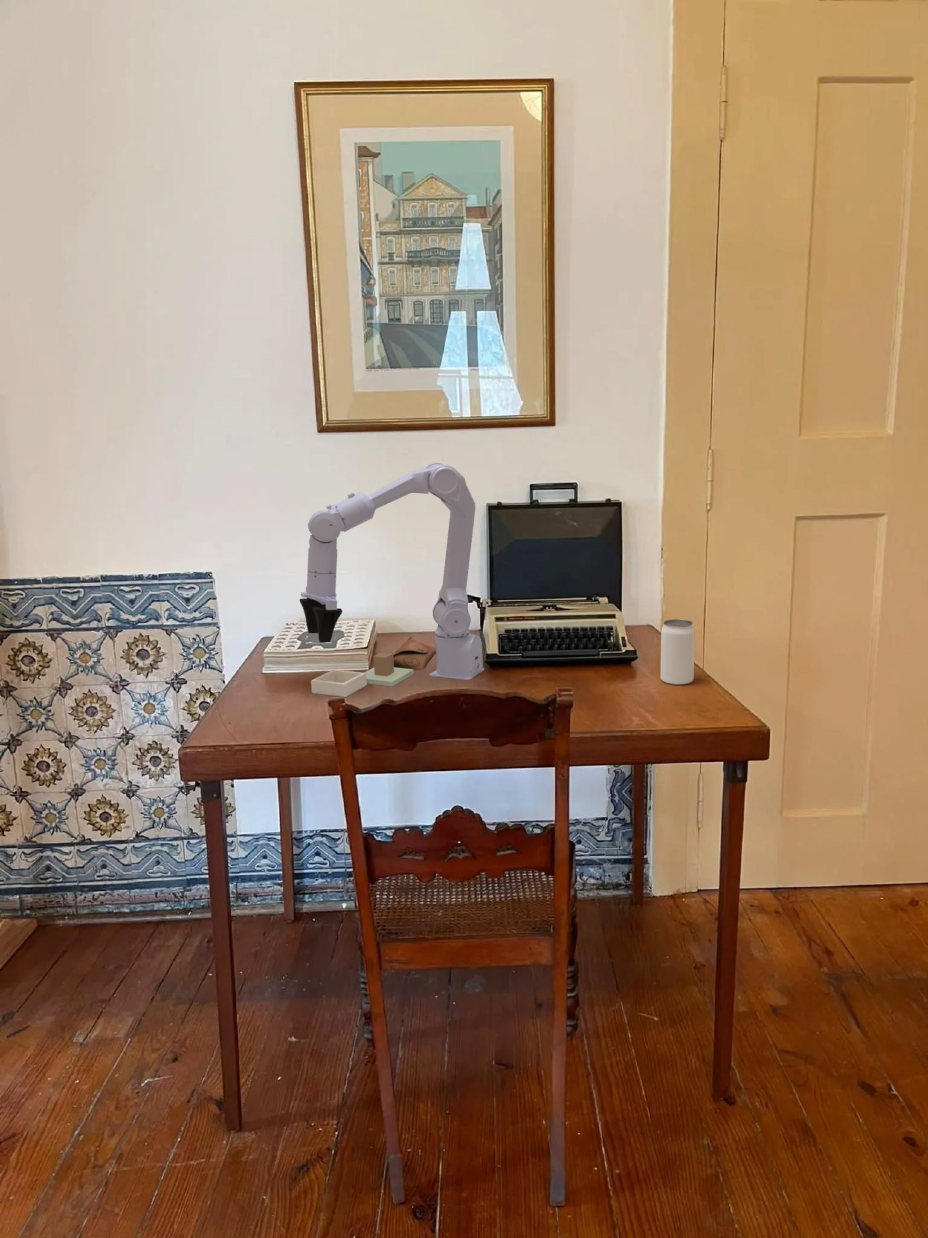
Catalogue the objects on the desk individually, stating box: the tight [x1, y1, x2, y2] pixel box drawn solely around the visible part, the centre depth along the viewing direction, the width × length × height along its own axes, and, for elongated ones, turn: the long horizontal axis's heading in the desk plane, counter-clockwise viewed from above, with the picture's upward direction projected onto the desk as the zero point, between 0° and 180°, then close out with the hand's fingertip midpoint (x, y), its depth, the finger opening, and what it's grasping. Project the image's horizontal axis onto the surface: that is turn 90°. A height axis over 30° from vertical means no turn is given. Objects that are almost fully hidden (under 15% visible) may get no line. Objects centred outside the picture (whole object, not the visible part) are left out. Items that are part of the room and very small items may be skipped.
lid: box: [363, 652, 415, 687], centre depth 183 cm, size 9×9×5 cm
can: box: [660, 618, 696, 686], centre depth 174 cm, size 6×6×12 cm
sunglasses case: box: [393, 636, 436, 671], centre depth 196 cm, size 18×7×7 cm
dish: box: [310, 669, 368, 698], centre depth 177 cm, size 8×8×3 cm
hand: (319, 637), depth 177 cm, fingers open, 7 cm apart
